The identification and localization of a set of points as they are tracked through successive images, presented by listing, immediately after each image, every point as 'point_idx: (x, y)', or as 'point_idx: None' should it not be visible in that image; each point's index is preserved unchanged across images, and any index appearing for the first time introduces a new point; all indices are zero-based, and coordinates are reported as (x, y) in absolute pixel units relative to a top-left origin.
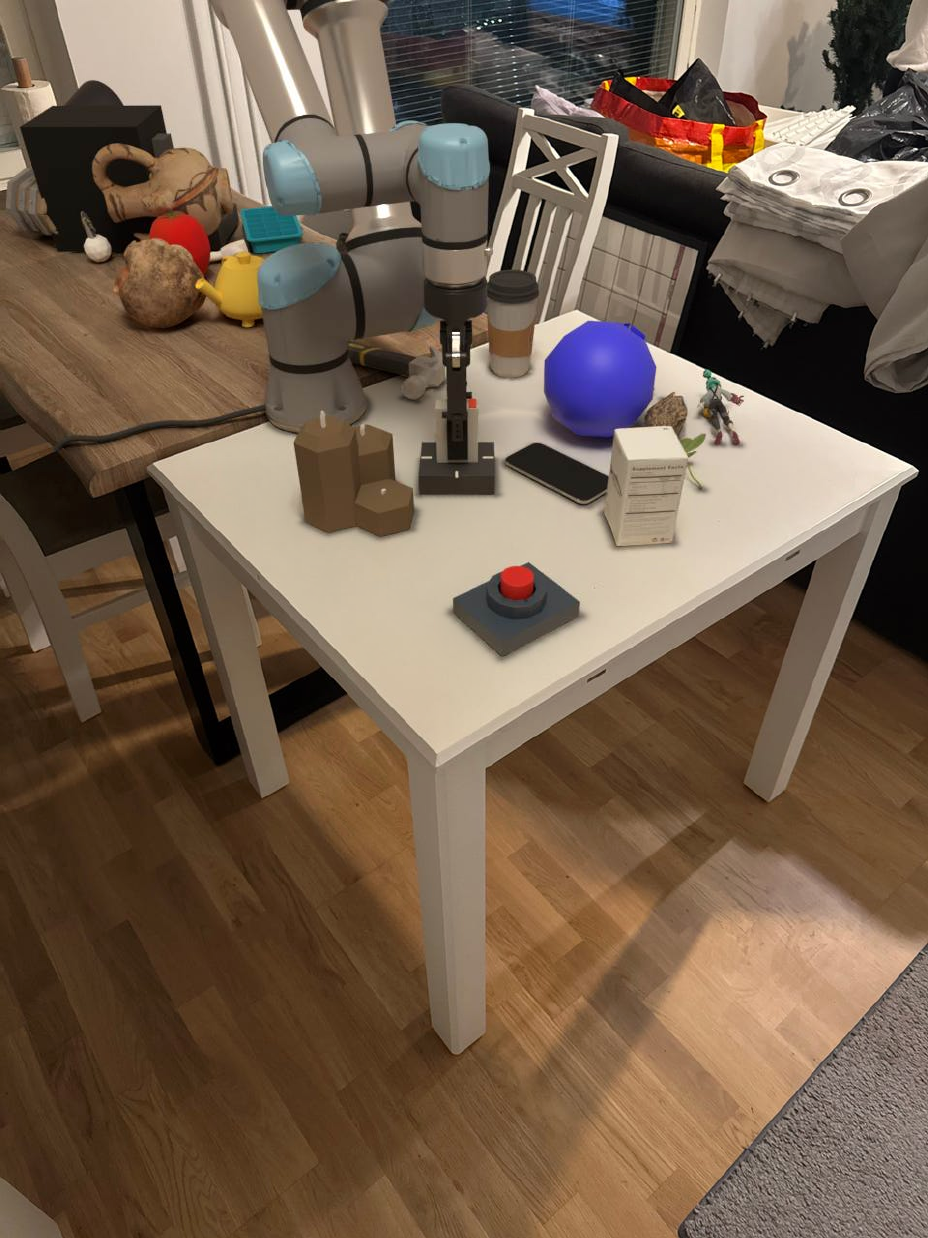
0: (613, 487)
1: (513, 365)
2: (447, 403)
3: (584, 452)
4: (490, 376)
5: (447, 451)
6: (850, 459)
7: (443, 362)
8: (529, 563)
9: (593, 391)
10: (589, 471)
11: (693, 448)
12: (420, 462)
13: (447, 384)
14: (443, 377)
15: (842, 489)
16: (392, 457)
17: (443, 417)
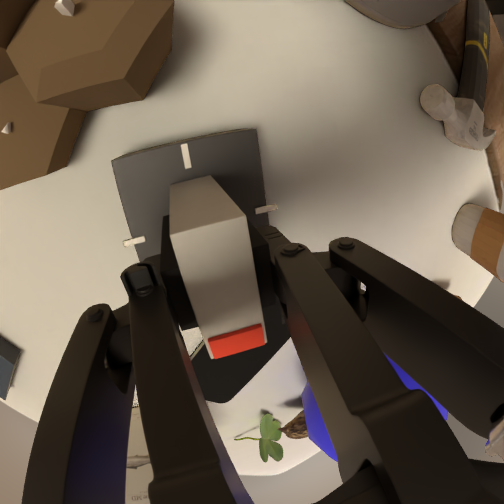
0: (139, 451)
1: (463, 239)
2: (58, 368)
3: (295, 356)
4: (457, 204)
5: (162, 224)
6: (289, 464)
7: (155, 501)
8: (12, 366)
9: (323, 437)
10: (241, 380)
11: (275, 444)
12: (164, 146)
13: (33, 450)
14: (458, 144)
15: (253, 471)
16: (114, 92)
17: (126, 276)
